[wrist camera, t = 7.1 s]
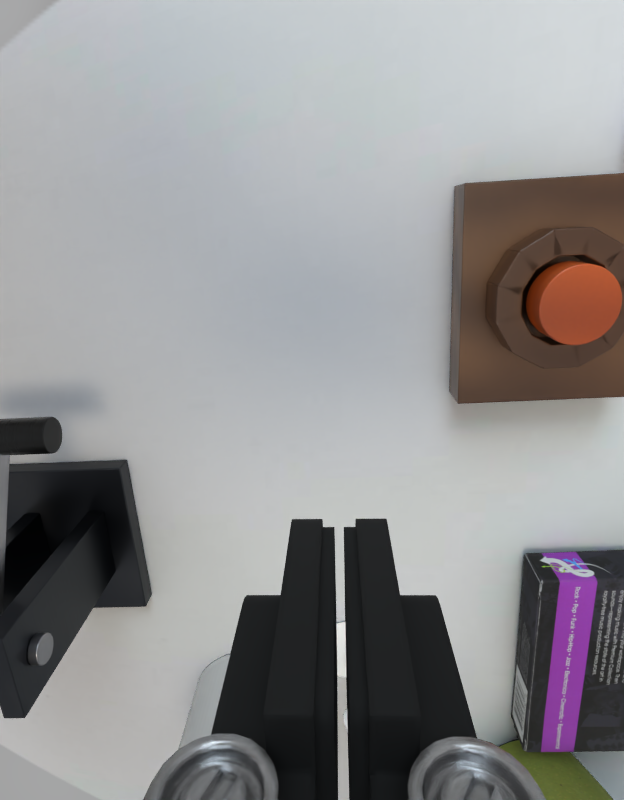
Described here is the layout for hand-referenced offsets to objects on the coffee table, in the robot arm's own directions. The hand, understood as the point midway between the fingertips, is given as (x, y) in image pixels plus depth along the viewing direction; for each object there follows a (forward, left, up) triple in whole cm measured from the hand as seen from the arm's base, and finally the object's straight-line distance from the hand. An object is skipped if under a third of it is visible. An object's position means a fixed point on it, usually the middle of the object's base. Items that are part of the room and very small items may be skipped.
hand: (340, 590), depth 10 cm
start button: (-2, +11, -18) cm, 21 cm away
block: (-2, +11, -21) cm, 24 cm away
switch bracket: (+12, -17, -21) cm, 30 cm away
